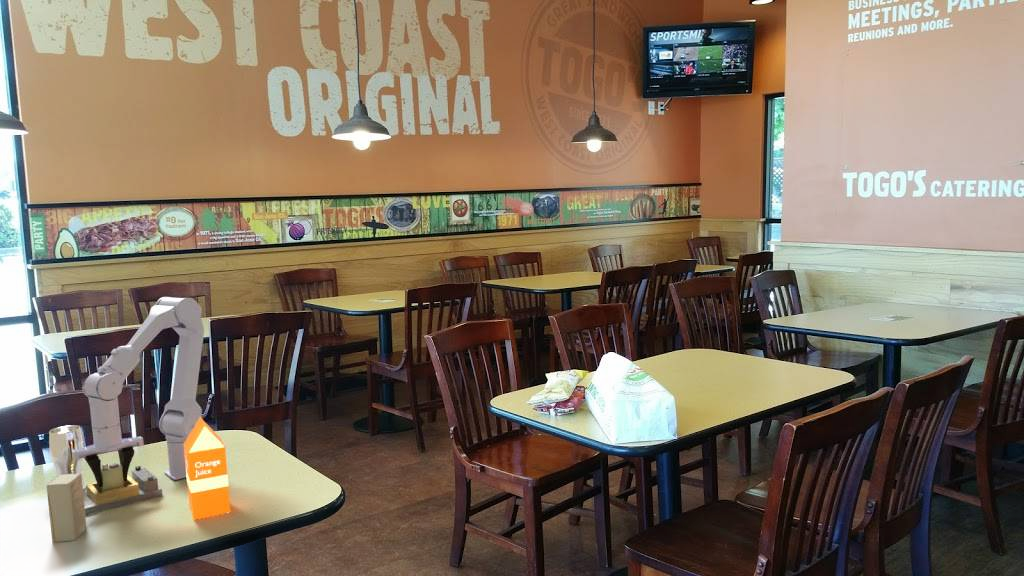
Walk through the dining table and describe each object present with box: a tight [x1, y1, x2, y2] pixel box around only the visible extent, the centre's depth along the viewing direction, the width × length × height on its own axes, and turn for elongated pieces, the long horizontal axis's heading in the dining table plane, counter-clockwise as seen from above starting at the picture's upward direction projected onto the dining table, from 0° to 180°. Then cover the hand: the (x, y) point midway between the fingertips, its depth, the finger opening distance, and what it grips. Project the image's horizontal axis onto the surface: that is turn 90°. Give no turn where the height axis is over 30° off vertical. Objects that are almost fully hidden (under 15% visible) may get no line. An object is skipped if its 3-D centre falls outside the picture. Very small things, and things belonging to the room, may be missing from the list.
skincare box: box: [46, 473, 87, 543], centre depth 163 cm, size 6×4×12 cm
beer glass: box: [48, 425, 86, 491], centre depth 190 cm, size 7×7×15 cm
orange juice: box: [184, 417, 231, 521], centre depth 174 cm, size 8×9×20 cm
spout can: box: [101, 463, 124, 492], centre depth 183 cm, size 5×5×7 cm
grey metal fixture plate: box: [83, 465, 163, 516], centre depth 183 cm, size 18×12×5 cm, turn 130°
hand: (112, 483), depth 183 cm, fingers closed on spout can, 4 cm apart
